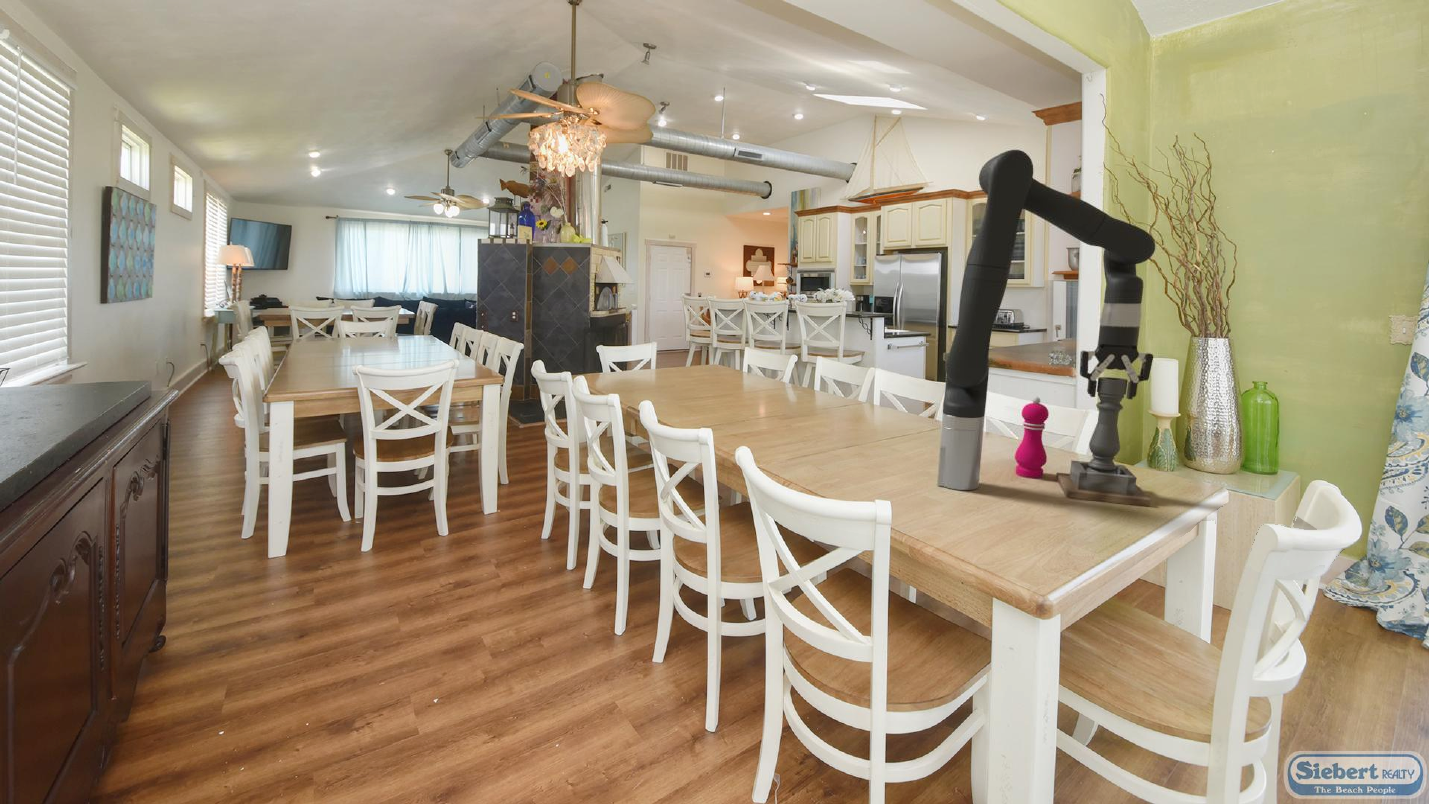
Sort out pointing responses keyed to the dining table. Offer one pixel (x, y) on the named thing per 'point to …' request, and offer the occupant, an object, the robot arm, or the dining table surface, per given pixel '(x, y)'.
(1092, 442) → the candle holder
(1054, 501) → the dining table surface
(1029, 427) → the pepper mill
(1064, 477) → the socket board
